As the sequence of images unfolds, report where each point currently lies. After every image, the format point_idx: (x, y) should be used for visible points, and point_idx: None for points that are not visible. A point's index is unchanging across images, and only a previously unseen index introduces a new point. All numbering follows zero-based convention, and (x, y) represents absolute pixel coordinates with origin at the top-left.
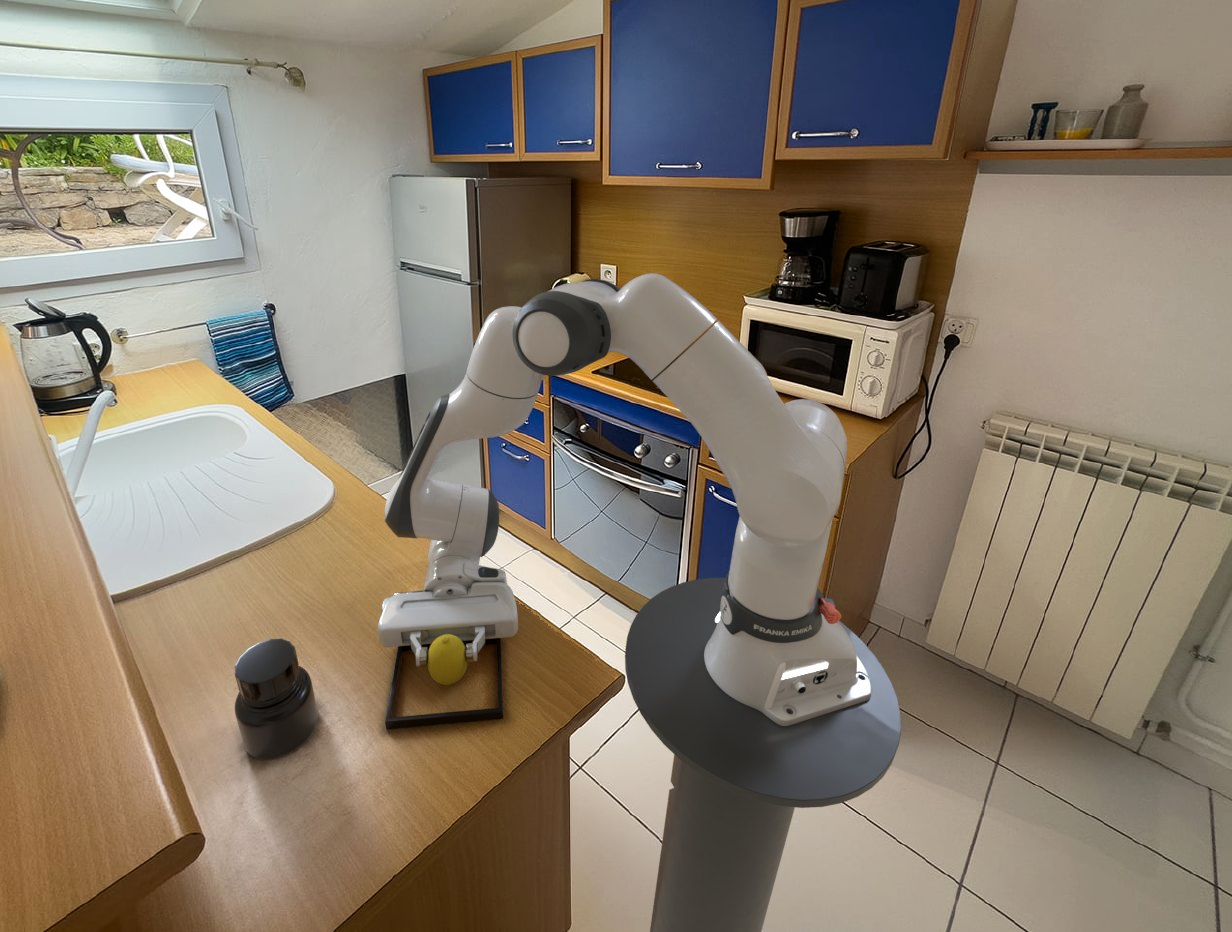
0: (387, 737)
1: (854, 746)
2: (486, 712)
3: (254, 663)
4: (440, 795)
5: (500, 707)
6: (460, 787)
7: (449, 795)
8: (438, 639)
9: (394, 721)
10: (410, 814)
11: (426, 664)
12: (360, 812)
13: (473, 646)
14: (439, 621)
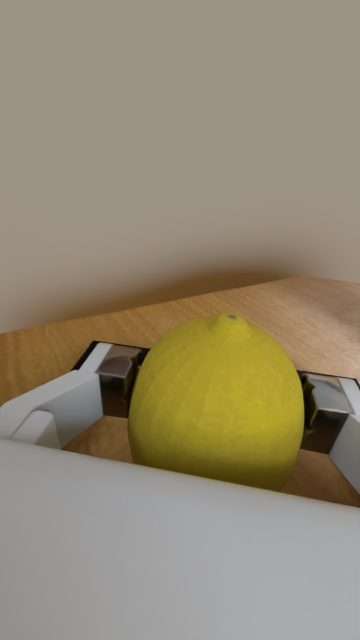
0: None
1: None
2: (127, 345)
3: None
4: (221, 309)
5: (94, 346)
6: (194, 309)
7: (209, 307)
8: (265, 355)
9: (333, 375)
10: (258, 304)
11: None
12: (325, 317)
13: (101, 357)
14: (291, 526)
